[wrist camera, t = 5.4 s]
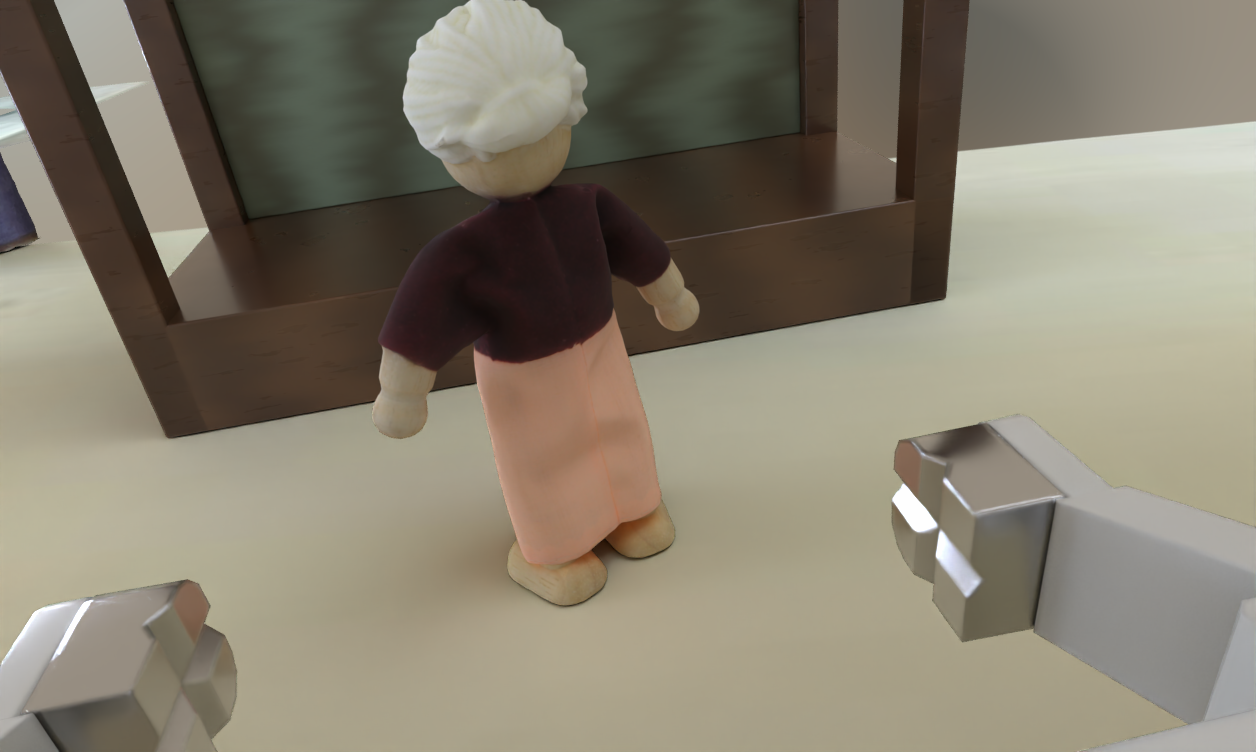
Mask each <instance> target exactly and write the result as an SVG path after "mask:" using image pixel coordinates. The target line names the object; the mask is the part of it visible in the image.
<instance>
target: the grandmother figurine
mask: <svg viewBox="0 0 1256 752" xmlns="http://www.w3.org/2000/svg"><path fill="white" fill-rule="evenodd" d="M586 86H587V77H586V68H585V67H584V66H583V65H582V64H580V63H579V62H577V60H576V57H575V55H574V53H573V52H572V51H571V50H570V49H568V48H566V47H565V46H564V43H563V37H562V32H561V30H560V29H559V28H558V27H556V26H554V25H552V24H551V23H549V22H548V21H546V19H545V18H544V17H543V15H542V14H541V12H540V11H539V10H538V9H536V8H532V7H530V6H529V5H528V4H527V3H526V2H525V1H522V0H515V1H513V0H470V1H469V2H467V3H466V4H465V5H464V6H458V7H456V8H454V9H453V10H452V11H451V12H450V13H449V14H448V15H447V16H444V17H442V18H440V19H439V20H437V22H436V24H435V26H434V28H433V29H432V30H431V31H429V32H428V33H427V34H425V35H423V36H422V37H420V38H419V39H418V40H417V44H416V51H415V53H413V54H412V56H411V57H410V59H409V69H408V72H407V83H406V85H405V88H404V93H403V102H404V108H403V110H404V113H405V115H406V117H407V119H408V121H409V123H410V124H411V125H412V127H413V128H414V130H415V132H416V134H417V137H418V140H419V142H420V144H421V145H422V146H423V147H424V148H425V149H426V150H429V151H430V152H431V153H432V154H434V155H435V156H437V157H438V158H440V159H441V160H442V162H443V164H444V166H445V167H446V169H447V171H448V172H449V173H450V174H451V176H452V177H453V178H454V179H455V180H456V181H457V182H458V183H460V184H461V185H462V186H463V187H465V188H466V189H467V190H468V191H471V192H473V193H475V194H477V195H479V196H481V197H483V198H485V199H488V200H490V202H489V205H488V206H487V207H486V208H485V209H483V210H482V211H481V212H480V213H478V214H476V215H474V216H472V217H470V218H468V219H466V220H464V221H462V222H461V223H459V224H458V225H456V226H454V227H453V228H451V229H448V230H446V231H443V232H441V233H439V234H438V235H436V236H435V237H434V238H433V239H432V240H431V241H430V242H429V243H428V244H427V245H426V246H425V247H424V248H423V249H422V250H421V251H420V252H419V253H418V254H417V256H416V257H415V259H414V261H413V262H412V263H411V265H410V267H409V269H408V270H407V272H406V274H405V276H404V278H403V280H402V282H401V284H400V286H399V288H398V290H397V292H396V295H395V298H394V300H393V303H392V305H391V307H390V310H389V312H388V315H387V317H386V320H385V322H384V325H383V327H382V329H381V332H380V334H379V337H378V343H379V344H380V345H381V346H382V349H383V355H382V361H381V366H380V373H379V380H380V384H381V392H380V394H379V395H378V397H377V398H376V400H375V403H374V405H373V408H372V420H373V422H374V425H375V426H376V428H377V429H378V431H379V432H381V433H382V434H384V435H386V436H388V437H391V438H397V439H402V438H407V437H411V436H413V435H415V434H416V433H418V432H419V431H420V430H422V428H423V426H424V425H425V423H426V420H427V416H428V410H427V401H426V396H427V394H428V393H429V392H430V390H431V389H432V388H433V385H434V381H435V377H436V374H437V371H438V370H439V369H440V368H442V367H443V366H444V365H445V364H446V363H447V362H448V361H449V360H451V359H452V358H453V357H454V356H455V355H456V354H458V353H459V352H460V351H461V350H462V349H463V348H465V347H467V346H469V345H471V344H472V343H474V364H475V372H476V379H477V385H478V389H479V393H480V396H481V400H482V404H483V409H484V413H485V418H486V422H487V426H488V430H489V434H490V438H491V442H492V446H493V451H494V457H495V462H496V467H497V471H498V476H499V480H500V484H501V488H502V491H503V495H504V499H505V502H506V506H507V509H508V512H509V515H510V518H511V521H512V524H513V527H514V531H515V534H516V537H517V539H516V540H515V542H514V543H513V545H512V547H511V549H510V552H509V555H508V561H507V569H508V572H509V575H510V577H511V578H512V579H513V580H514V581H516V582H517V583H519V584H520V585H522V586H524V587H525V588H527V589H529V590H531V591H533V592H534V593H536V594H538V595H539V596H541V597H542V598H544V599H547V600H548V601H550V602H552V603H554V604H559V605H572V604H576V603H579V602H582V601H585V600H586V599H588V598H589V597H591V596H592V595H593V594H595V593H596V592H598V591H599V590H600V589H601V588H602V587H603V586H604V584H605V582H606V579H607V570H606V568H605V566H604V564H603V563H602V561H601V560H600V559H599V558H598V557H597V556H596V555H595V553H594V552H593V551H592V550H591V549H592V548H593V547H595V546H596V545H597V544H598V543H599V542H600V541H602V540H603V539H604V538H605V539H606V540H607V541H608V542H609V543H610V544H611V545H612V546H613V547H614V549H616V550H617V551H618V552H619V553H621V554H622V555H625V556H628V557H640V558H642V557H646V556H649V555H652V554H654V553H657V552H659V551H661V550H664V549H666V548H667V547H668V546H670V545H671V543H672V542H673V540H674V537H675V529H674V526H673V524H672V521H671V519H670V517H669V515H668V512H667V510H666V507H665V505H664V503H663V501H662V499H661V491H660V487H659V483H658V477H657V472H656V466H655V458H654V450H653V445H652V439H651V435H650V430H649V425H648V421H647V418H646V414H645V411H644V408H643V405H642V402H641V398H640V395H639V392H638V389H637V386H636V382H635V378H634V374H633V371H632V367H631V364H630V360H629V358H628V355H627V352H626V349H625V345H624V342H623V338H622V335H621V332H620V329H619V326H618V322H617V319H616V314H615V311H614V302H613V296H612V281H611V275H614V276H615V277H617V278H618V279H620V280H624V281H627V282H630V283H631V284H633V285H634V286H636V288H637V289H638V291H639V292H640V294H641V295H642V297H643V298H644V299H645V300H646V301H647V303H648V304H651V305H653V306H654V309H655V313H656V317H657V319H658V321H659V322H660V323H661V324H662V325H663V326H664V327H665V328H667V329H669V330H673V331H683V330H685V329H687V328H689V327H691V326H692V325H693V324H694V323H695V322H696V320H697V319H698V316H699V304H698V301H697V299H696V298H695V296H694V295H693V294H692V293H691V292H690V291H689V290H687V289H686V288H684V280H683V277H682V275H681V273H680V272H679V270H678V268H677V267H676V265H675V263H674V262H673V260H672V258H671V254H670V250H669V248H668V246H667V245H666V243H665V242H664V241H663V240H662V239H661V238H660V237H659V236H658V235H656V233H655V232H654V231H653V230H652V229H651V228H650V227H649V226H648V225H647V224H646V223H645V222H644V221H643V220H642V219H641V218H640V217H639V216H638V215H637V214H636V213H635V212H634V211H633V210H632V209H631V208H630V207H629V206H628V205H627V204H625V203H624V202H623V201H622V200H621V199H619V198H618V197H617V196H616V195H614V194H613V193H612V192H611V191H609V190H608V189H606V188H605V187H603V186H601V185H599V184H593V183H577V184H564V185H558V186H551V184H552V182H553V180H554V179H555V178H556V177H557V176H558V174H559V173H560V172H561V170H562V169H563V167H564V164H565V162H566V159H567V156H568V153H569V149H570V142H571V126H573V125H575V124H578V122H579V121H580V119H581V118H582V117H583V116H584V115H585V114H586V113H587V107H586V106H585V104H584V101H583V97H582V92H583V90H585V88H586Z"/></svg>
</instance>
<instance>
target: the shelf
mask: <svg viewBox="0 0 1256 752" xmlns="http://www.w3.org/2000/svg"><path fill="white" fill-rule="evenodd" d="M123 1H124V4H125V7H126V9H127V12H128V15H129V17H130V20H131V22H132V25H133V28H134V31H135V33H136V36H137V39H138V42H139V44H140V47H141V50H142V52H143V55H144V58H145V60H146V63H147V65H148V68H149V71H150V74H151V76H152V79H153V82H154V84H155V87H156V90H157V92H158V95H159V98H160V100H161V103H162V105H163V108H164V111H165V114H166V116H167V119H168V122H169V124H170V127H171V130H172V132H173V135H174V138H175V140H176V143H177V146H178V149H179V151H180V154H181V156H182V159H183V162H184V165H185V167H186V170H187V172H188V175H189V178H190V181H191V183H192V186H193V188H194V191H195V194H196V196H197V199H198V202H199V205H200V207H201V210H202V213H203V215H204V218H205V221H206V223H207V226H208V229H209V232H208V233H207V234H206V236H205V237H204V238H203V239H202V240H201V241H200V242H199V244H198V245H197V246H196V247H195V248H194V249H193V251H192V252H191V253H190V254H189V255H188V256H187V257H186V259H185V260H184V261H183V262H182V263H181V264H180V265H179V267H178V268H177V269H176V270H175V271H174V272H173V273H172V275H171V276H170V277H169V278H168V277H167V275H166V272H165V270H164V267H163V265H162V262H161V260H160V258H159V255H158V253H157V250H156V248H155V245H154V243H153V241H152V238H151V236H150V233H149V231H148V228H147V226H146V224H145V221H144V219H143V216H142V214H141V211H140V209H139V207H138V204H137V202H136V200H135V197H134V195H133V192H132V189H131V187H130V185H129V182H128V180H127V177H126V175H125V172H124V170H123V168H122V165H121V163H120V160H119V158H118V155H117V153H116V151H115V148H114V146H113V143H112V141H111V138H110V136H109V134H108V131H107V129H106V127H105V124H104V121H103V119H102V117H101V114H100V112H99V109H98V107H97V104H96V102H95V99H94V97H93V95H92V92H91V90H90V87H89V85H88V82H87V80H86V78H85V75H84V73H83V70H82V68H81V65H80V63H79V61H78V58H77V56H76V53H75V51H74V48H73V46H72V43H71V41H70V39H69V36H68V34H67V31H66V29H65V26H64V24H63V22H62V19H61V17H60V14H59V12H58V9H57V7H56V5H55V2H54V0H0V74H1V76H2V78H3V81H4V83H5V85H6V87H7V89H8V92H9V94H10V96H11V98H12V100H13V103H14V105H15V107H16V109H17V111H18V113H19V116H20V118H21V120H22V122H23V124H24V127H25V129H26V131H27V133H28V135H29V138H30V140H31V142H32V144H33V146H34V148H35V151H36V153H37V155H38V157H39V159H40V162H41V164H42V166H43V168H44V170H45V172H46V175H47V177H48V179H49V181H50V183H51V185H52V188H53V190H54V192H55V194H56V196H57V199H58V201H59V203H60V205H61V207H62V210H63V212H64V214H65V216H66V218H67V220H68V223H69V225H70V227H71V229H72V231H73V234H74V236H75V238H76V240H77V242H78V245H79V247H80V249H81V251H82V253H83V256H84V258H85V260H86V262H87V264H88V266H89V269H90V271H91V273H92V275H93V277H94V280H95V282H96V284H97V286H98V288H99V291H100V293H101V295H102V297H103V299H104V301H105V304H106V306H107V308H108V310H109V312H110V315H111V317H112V319H113V321H114V323H115V326H116V328H117V330H118V332H119V334H120V336H121V339H122V341H123V343H124V345H125V347H126V350H127V352H128V354H129V356H130V358H131V360H132V363H133V365H134V367H135V369H136V371H137V374H138V376H139V378H140V380H141V382H142V385H143V387H144V389H145V391H146V393H147V395H148V398H149V400H150V402H151V404H152V406H153V409H154V411H155V413H156V415H157V417H158V419H159V422H160V424H161V426H162V428H163V430H164V433H165V435H166V437H167V438H171V437H176V436H182V435H187V434H193V433H198V432H204V431H209V430H215V429H220V428H226V427H231V426H237V425H242V424H248V423H253V422H259V421H265V420H270V419H276V418H281V417H287V416H292V415H298V414H303V413H309V412H314V411H320V410H325V409H331V408H337V407H342V406H348V405H353V404H359V403H364V402H370V401H375V400H376V398H377V397H378V395H379V394H380V392H381V384H380V380H379V373H380V366H381V361H382V355H383V349H382V346H381V345H380V344H379V343H378V337H379V334H380V332H381V329H382V327H383V325H384V322H385V320H386V317H387V315H388V312H389V310H390V307H391V305H392V303H393V300H394V298H395V295H396V292H397V290H398V288H399V286H400V284H401V282H402V280H403V278H404V276H405V274H406V272H407V270H408V269H409V267H410V265H411V263H412V262H413V261H414V259H415V257H416V256H417V254H418V253H419V252H420V251H421V250H422V249H423V248H424V247H425V246H426V245H427V244H428V243H429V242H430V241H431V240H432V239H433V238H434V237H435V236H436V235H438V234H439V233H441V232H443V231H446V230H448V229H451V228H453V227H454V226H456V225H458V224H459V223H461V222H462V221H464V220H466V219H468V218H470V217H472V216H474V215H476V214H478V213H480V212H481V211H482V210H483V209H485V208H486V207H487V206H488V205H489V202H490V200H488V199H485V198H483V197H481V196H479V195H477V194H475V193H473V192H471V191H468V190H467V189H466V188H465V187H463V186H462V185H461V184H460V183H458V182H457V181H456V180H455V179H454V178H453V177H452V176H451V174H450V173H449V172H448V171H447V169H446V167H445V166H444V164H443V162H442V160H441V159H440V158H438V157H437V156H435V155H434V154H432V153H431V152H430V151H429V150H426V149H425V148H424V147H423V146H422V145H421V144H420V142H419V140H418V137H417V134H416V132H415V130H414V128H413V127H412V125H411V124H410V123H409V121H408V119H407V117H406V115H405V113H404V110H403V108H404V102H403V93H404V88H405V85H406V83H407V72H408V69H409V59H410V57H411V56H412V54H413V53H415V51H416V44H417V40H418V39H419V38H420V37H422V36H423V35H425V34H427V33H428V32H429V31H431V30H432V29H433V28H434V26H435V24H436V22H437V20H439V19H440V18H442V17H444V16H447V15H448V14H449V13H450V12H451V11H452V10H453V9H454V8H456V7H458V6H464V5H465V4H466V3H467V2H469V1H470V0H123ZM513 1H515V0H513ZM522 1H525V2H526V3H527V4H528V5H529V6H530V7H532V8H536V9H538V10H539V11H540V12H541V14H542V15H543V17H544V18H545V19H546V21H548V22H549V23H551V24H552V25H554V26H556V27H558V28H559V29H560V30H561V32H562V37H563V43H564V46H565V47H566V48H568V49H570V50H571V51H572V52H573V53H574V55H575V57H576V60H577V62H579V63H580V64H582V65H583V66H584V67H585V68H586V77H587V86H586V88H585V90H583V92H582V97H583V101H584V104H585V106H586V107H587V113H586V114H585V115H584V116H583V117H582V118H581V119H580V121H579V122H578V124H575V125H573V126H571V142H570V149H569V153H568V156H567V159H566V162H565V164H564V167H563V169H562V170H561V172H560V173H559V174H558V176H557V177H556V178H555V179H554V180H553V182H552V184H551V186H558V185H564V184H577V183H593V184H599V185H601V186H603V187H605V188H606V189H608V190H609V191H611V192H612V193H613V194H614V195H616V196H617V197H618V198H619V199H621V200H622V201H623V202H624V203H625V204H627V205H628V206H629V207H630V208H631V209H632V210H633V211H634V212H635V213H636V214H637V215H638V216H639V217H640V218H641V219H642V220H643V221H644V222H645V223H646V224H647V225H648V226H649V227H650V228H651V229H652V230H653V231H654V232H655V233H656V235H658V236H659V237H660V238H661V239H662V240H663V241H664V242H665V243H666V245H667V246H668V248H669V250H670V254H671V258H672V260H673V262H674V263H675V265H676V267H677V268H678V270H679V272H680V273H681V275H682V277H683V280H684V288H686V289H687V290H689V291H690V292H691V293H692V294H693V295H694V296H695V298H696V299H697V301H698V304H699V316H698V319H697V320H696V322H695V323H694V324H693V325H692V326H691V327H689V328H687V329H685V330H683V331H673V330H669V329H667V328H665V327H664V326H663V325H662V324H661V323H660V322H659V321H658V319H657V317H656V313H655V309H654V306H653V305H651V304H648V303H647V301H646V300H645V299H644V298H643V297H642V295H641V294H640V292H639V291H638V289H637V288H636V286H634V285H633V284H631V283H630V282H627V281H624V280H620V279H618V278H617V277H615V276H614V275H611V281H612V296H613V302H614V311H615V314H616V319H617V322H618V326H619V329H620V332H621V335H622V338H623V342H624V345H625V349H626V352H627V355H630V354H636V353H641V352H647V351H652V350H658V349H664V348H669V347H675V346H680V345H686V344H691V343H697V342H702V341H708V340H713V339H719V338H725V337H730V336H736V335H741V334H747V333H752V332H758V331H763V330H769V329H774V328H780V327H786V326H791V325H797V324H802V323H808V322H813V321H819V320H824V319H830V318H835V317H841V316H846V315H852V314H858V313H863V312H869V311H874V310H880V309H885V308H891V307H896V306H902V305H907V304H915V303H921V302H926V301H932V300H937V299H943V298H946V291H947V278H948V266H949V253H950V240H951V228H952V215H953V203H954V190H955V177H956V165H957V152H958V139H959V126H960V114H961V101H962V89H963V76H964V63H965V51H966V38H967V26H968V13H969V12H968V11H969V0H904V4H903V26H902V27H903V28H902V50H901V73H900V95H899V96H900V97H899V117H898V119H899V120H898V140H897V163H895V162H893V161H891V160H889V159H888V158H886V157H884V156H882V155H880V154H878V153H876V152H874V151H873V150H871V149H869V148H867V147H865V146H863V145H861V144H859V143H858V142H855V141H854V140H852V139H850V138H848V137H846V136H844V135H843V134H841V133H839V132H837V91H838V90H837V85H838V84H837V83H838V0H522ZM475 382H477V379H476V372H475V364H474V343H472V344H471V345H469V346H467V347H465V348H463V349H462V350H461V351H460V352H459V353H458V354H456V355H455V356H454V357H453V358H452V359H451V360H449V361H448V362H447V363H446V364H445V365H444V366H443V367H442V368H440V369H439V370H438V371H437V374H436V377H435V381H434V385H433V388H432V389H431V390H436V389H442V388H447V387H453V386H458V385H464V384H470V383H475ZM431 390H430V391H431Z"/></svg>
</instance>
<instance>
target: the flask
mask: <svg viewBox="0 0 1256 752" xmlns="http://www.w3.org/2000/svg"><path fill="white" fill-rule="evenodd" d="M37 239H39V238H38V236H37V233H36V229H35V226H34V224H33V222H32V219H31V217H30V216H29V213H28V211H27V209H26V207H25V205H24V202H23V200H22V198H21V197H20V195H19V193H18V190H17V188H16V185H15V182H14V181H13V179H12V177H11V175H10V173H9V171H8V169H7V167H6V165H5V164H4V161H3V159H2V156H1V153H0V252H3V251H10V249H12V248H14V247H16V246H21V245H27V244H30V243H32V241H35V240H37Z"/></svg>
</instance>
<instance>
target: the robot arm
mask: <svg viewBox="0 0 1256 752" xmlns="http://www.w3.org/2000/svg"><path fill="white" fill-rule="evenodd" d="M894 470H895V472H896V473H897V474H898V476H899V477H900V478H901V479H902V481H903V482H904V484H903V485H902V486H901V488H900V489H899V490H898V492H897V493H896V494H895V496H894V497H893V499H892V526H893V530H894V534H895V539H896V543H897V546H898V548H899V550H900V552H901V554H902V557H903V559H904V561H905V562H906V564H907V565H908V566H909V568H910V569H911V571H912V572H913V574H914V575H916V576H918V577H920V578H922V579H924V580H927V581H929V582H931V583H933V584H934V586H933V599H932V601H933V602H934V604H935V605H936V607H937V608H938V609H939V611H940V612H941V614H942V615H943V616H944V618H945V619H946V621H947V622H948V624H949V625H950V626H951V628H952V629H953V631H954V632H955V633H956V635H957V636H958V638H959V639H960V640H961V642H967V641H972V640H977V639H982V638H987V637H992V636H998V635H1003V634H1008V633H1013V632H1018V631H1023V630H1029V629H1034V633H1036V634H1038V635H1039V636H1041V637H1043V638H1044V639H1046V640H1048V641H1049V642H1051V643H1053V644H1054V645H1056V646H1058V647H1059V648H1061V649H1063V650H1064V651H1066V652H1068V653H1069V654H1071V655H1073V656H1074V657H1076V658H1078V659H1080V660H1081V661H1083V662H1085V663H1086V664H1088V665H1090V666H1091V667H1093V668H1095V669H1096V670H1098V671H1100V672H1101V673H1103V674H1105V675H1106V676H1108V677H1110V678H1111V679H1113V680H1115V681H1116V682H1118V683H1120V684H1122V685H1123V686H1125V687H1127V688H1128V689H1130V690H1132V691H1133V692H1135V693H1137V694H1138V695H1140V696H1142V697H1143V698H1145V699H1147V700H1148V701H1150V702H1152V703H1153V704H1155V705H1157V706H1158V707H1160V708H1162V709H1164V710H1165V711H1167V712H1169V713H1170V714H1172V715H1174V716H1175V717H1177V718H1179V719H1180V720H1182V721H1184V722H1185V723H1187V724H1189V725H1185V726H1181V727H1177V728H1173V729H1168V730H1164V731H1160V732H1156V733H1152V734H1148V735H1143V736H1139V737H1135V738H1131V739H1127V740H1122V741H1118V742H1114V743H1110V744H1106V745H1102V746H1097V747H1093V748H1089V749H1085V750H1081V751H1076V752H1256V527H1254V526H1250V525H1247V524H1244V523H1241V522H1238V521H1235V520H1232V519H1229V518H1225V517H1222V516H1219V515H1216V514H1213V513H1210V512H1207V511H1204V510H1201V509H1197V508H1194V507H1191V506H1188V505H1185V504H1182V503H1179V502H1176V501H1172V500H1169V499H1166V498H1163V497H1160V496H1157V495H1154V494H1151V493H1147V492H1144V491H1141V490H1138V489H1135V488H1132V487H1129V486H1122V487H1117V488H1113V487H1111V486H1110V485H1109V484H1108V483H1107V482H1106V481H1104V480H1103V479H1102V478H1101V477H1100V476H1098V475H1097V474H1096V473H1095V472H1094V471H1093V470H1091V469H1090V468H1089V467H1088V466H1087V465H1085V464H1084V463H1083V462H1082V461H1081V460H1080V459H1078V458H1077V457H1076V456H1075V455H1074V454H1072V453H1071V452H1070V451H1069V450H1068V449H1067V448H1065V447H1064V446H1063V445H1062V444H1061V443H1059V442H1058V441H1057V440H1056V439H1055V438H1054V437H1052V436H1051V435H1050V434H1049V433H1048V432H1046V431H1045V430H1044V429H1043V428H1042V427H1041V426H1039V425H1038V424H1037V423H1036V422H1035V421H1033V420H1032V419H1031V418H1030V417H1027V416H1024V415H1020V414H1015V415H1011V416H1006V417H1002V418H998V419H993V420H989V421H984V422H980V423H978V424H977V425H973V426H968V427H963V428H958V429H953V430H948V431H943V432H938V433H933V434H928V435H923V436H918V437H913V438H908V439H903V440H899V442H898V445H897V447H896V450H895V455H894ZM210 606H211V605H210V604H209V602H208V600H207V598H206V596H205V594H204V592H203V591H202V589H201V587H200V585H199V584H198V583H196V582H193V581H190V580H188V579H187V580H181V581H175V582H170V583H164V584H158V585H153V586H147V587H141V588H136V589H130V590H124V591H118V592H113V593H107V594H101V595H96V596H94V597H86V598H81V599H75V600H70V601H65V602H60V603H54V604H49V605H47V606H45V607H43V608H41V609H39V610H38V611H36V612H34V613H33V615H32V616H31V618H30V620H29V621H28V623H27V624H26V626H25V627H24V629H23V630H22V632H21V633H20V635H19V637H18V638H17V640H16V641H15V643H14V644H13V646H12V647H11V649H10V650H9V652H8V654H7V655H6V657H5V658H4V660H3V661H2V663H1V664H0V752H218V751H217V750H216V748H215V746H214V744H213V742H212V739H213V737H214V736H215V735H216V734H217V733H218V732H219V731H220V730H221V729H222V728H223V727H224V726H225V725H226V724H227V723H228V722H229V721H230V719H231V716H232V712H233V708H234V705H235V701H236V692H237V670H236V665H235V661H234V657H233V652H232V650H231V648H230V645H229V643H228V641H227V639H226V637H225V635H224V634H222V633H220V632H218V631H216V630H215V629H213V628H211V627H209V626H207V625H206V624H204V622H205V620H206V617H207V614H208V612H209V609H210Z"/></svg>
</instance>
